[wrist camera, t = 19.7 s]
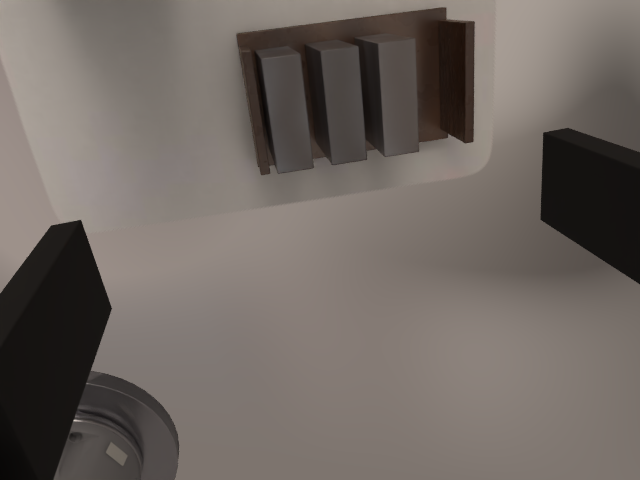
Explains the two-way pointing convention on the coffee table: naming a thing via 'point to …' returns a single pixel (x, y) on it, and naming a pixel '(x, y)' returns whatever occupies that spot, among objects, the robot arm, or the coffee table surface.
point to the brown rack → (357, 87)
